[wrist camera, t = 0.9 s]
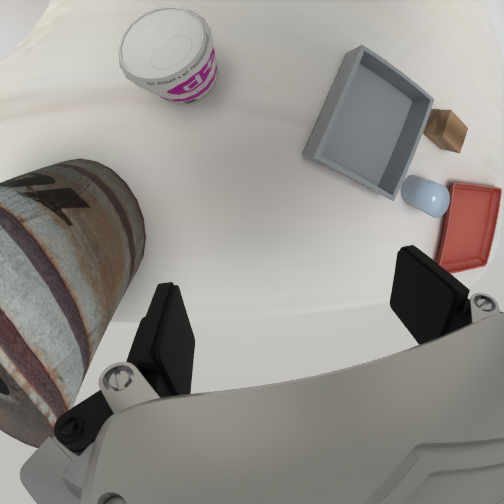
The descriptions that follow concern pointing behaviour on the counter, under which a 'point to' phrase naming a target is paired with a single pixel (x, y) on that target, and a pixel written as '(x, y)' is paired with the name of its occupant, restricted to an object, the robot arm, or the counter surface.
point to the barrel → (59, 285)
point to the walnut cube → (445, 130)
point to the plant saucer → (469, 227)
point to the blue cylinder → (425, 195)
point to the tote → (370, 123)
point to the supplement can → (170, 54)
